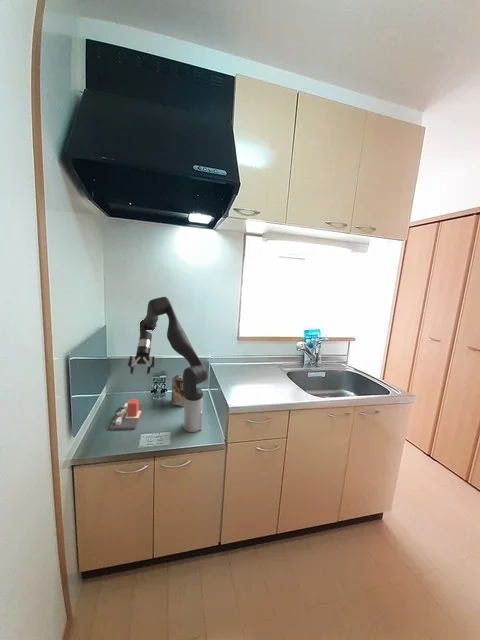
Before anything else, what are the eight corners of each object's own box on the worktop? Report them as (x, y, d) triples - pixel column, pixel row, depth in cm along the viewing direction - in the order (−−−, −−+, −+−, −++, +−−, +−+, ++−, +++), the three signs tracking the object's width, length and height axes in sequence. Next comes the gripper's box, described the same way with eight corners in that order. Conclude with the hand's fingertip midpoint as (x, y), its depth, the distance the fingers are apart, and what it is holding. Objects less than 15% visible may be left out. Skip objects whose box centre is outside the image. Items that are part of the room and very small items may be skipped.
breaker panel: (144, 405, 152) (144, 400, 151) (135, 429, 131) (135, 423, 130) (122, 406, 150) (122, 400, 149) (109, 429, 129) (109, 424, 128)
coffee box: (189, 402, 159) (190, 377, 156) (184, 407, 153) (185, 381, 150) (176, 398, 162) (177, 374, 159) (170, 403, 156) (171, 378, 153)
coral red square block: (138, 411, 143) (138, 399, 141) (136, 416, 139) (136, 403, 137) (129, 411, 142) (129, 399, 141) (127, 416, 138) (127, 403, 137)
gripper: (130, 345, 154) (125, 371, 145) (155, 345, 156) (152, 371, 147) (132, 350, 160) (128, 376, 151) (156, 351, 162) (153, 376, 154)
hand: (139, 373), depth 149 cm, fingers open, 8 cm apart
